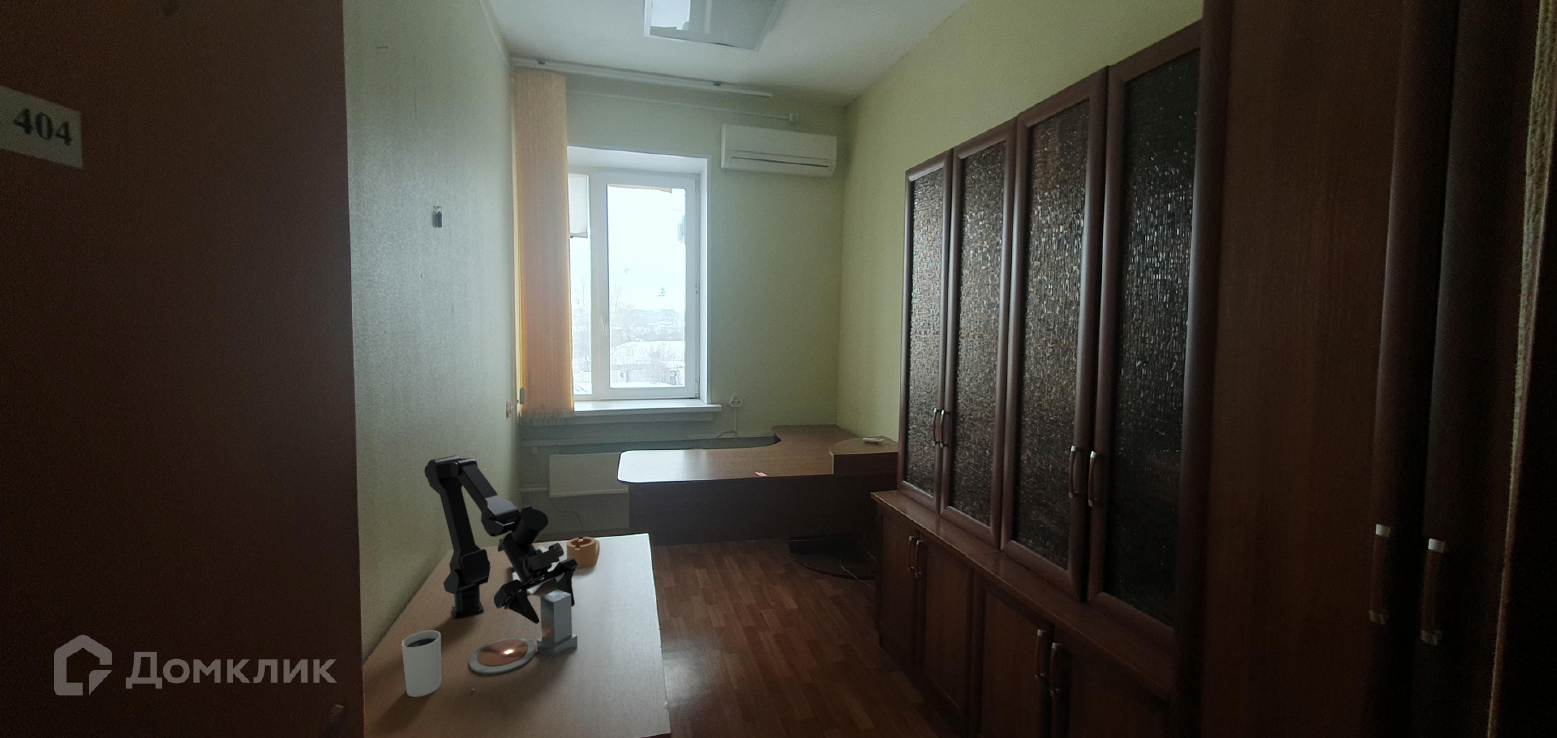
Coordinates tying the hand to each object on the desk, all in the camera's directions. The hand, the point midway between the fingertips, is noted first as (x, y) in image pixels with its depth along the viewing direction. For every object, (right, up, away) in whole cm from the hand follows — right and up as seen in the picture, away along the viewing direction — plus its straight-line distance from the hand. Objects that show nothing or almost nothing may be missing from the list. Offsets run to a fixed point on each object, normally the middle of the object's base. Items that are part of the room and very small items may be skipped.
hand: (556, 613), depth 132 cm
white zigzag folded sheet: (-20, -6, +40) cm, 45 cm away
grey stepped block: (0, -8, +1) cm, 8 cm away
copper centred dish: (-10, -8, -3) cm, 13 cm away
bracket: (-11, -5, +53) cm, 54 cm away
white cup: (-21, -9, -14) cm, 27 cm away
